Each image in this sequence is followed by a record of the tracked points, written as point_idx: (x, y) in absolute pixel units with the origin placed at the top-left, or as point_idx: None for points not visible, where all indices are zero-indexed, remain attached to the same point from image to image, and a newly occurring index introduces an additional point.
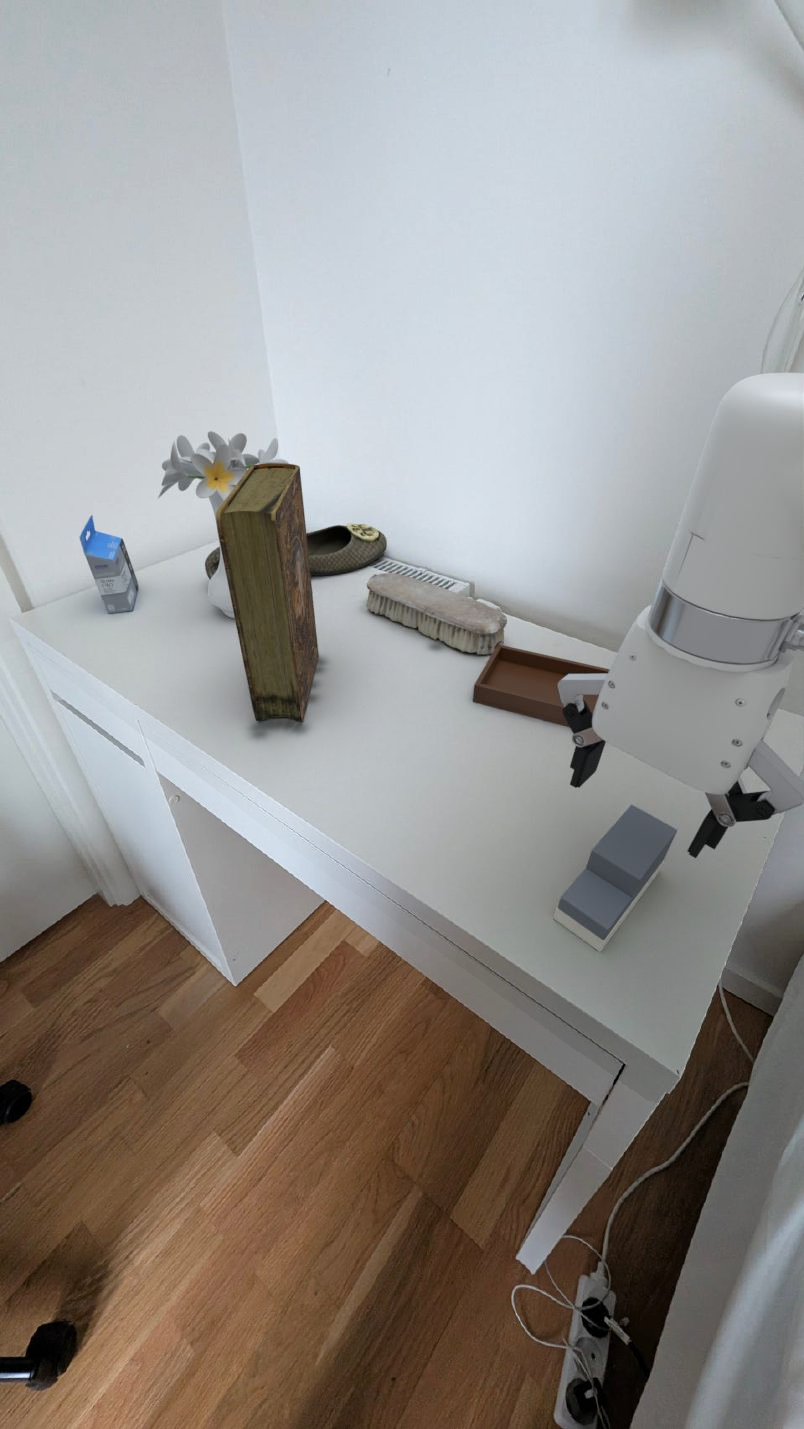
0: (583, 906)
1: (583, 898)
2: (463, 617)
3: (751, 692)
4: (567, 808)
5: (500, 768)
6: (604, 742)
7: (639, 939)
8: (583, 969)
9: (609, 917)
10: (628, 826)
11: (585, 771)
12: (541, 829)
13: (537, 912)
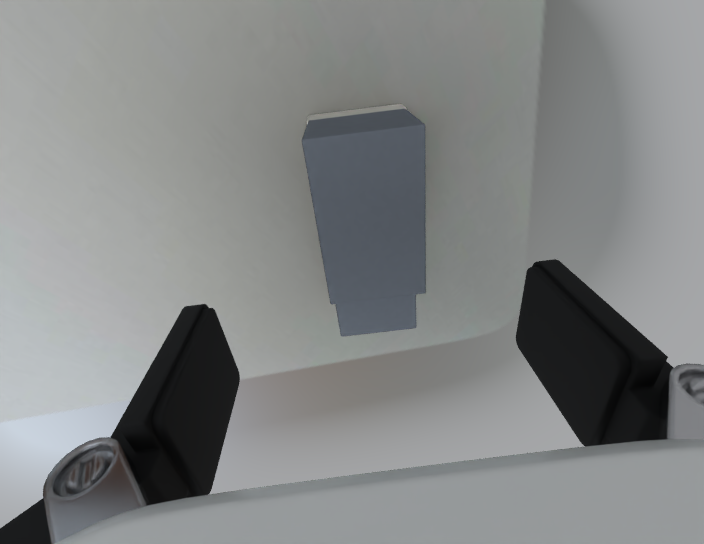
0: (372, 327)
1: (364, 318)
2: None
3: None
4: (184, 114)
5: (8, 136)
6: (172, 412)
7: (436, 244)
8: None
9: (407, 314)
10: (340, 207)
11: (224, 412)
12: (205, 200)
13: (319, 309)
